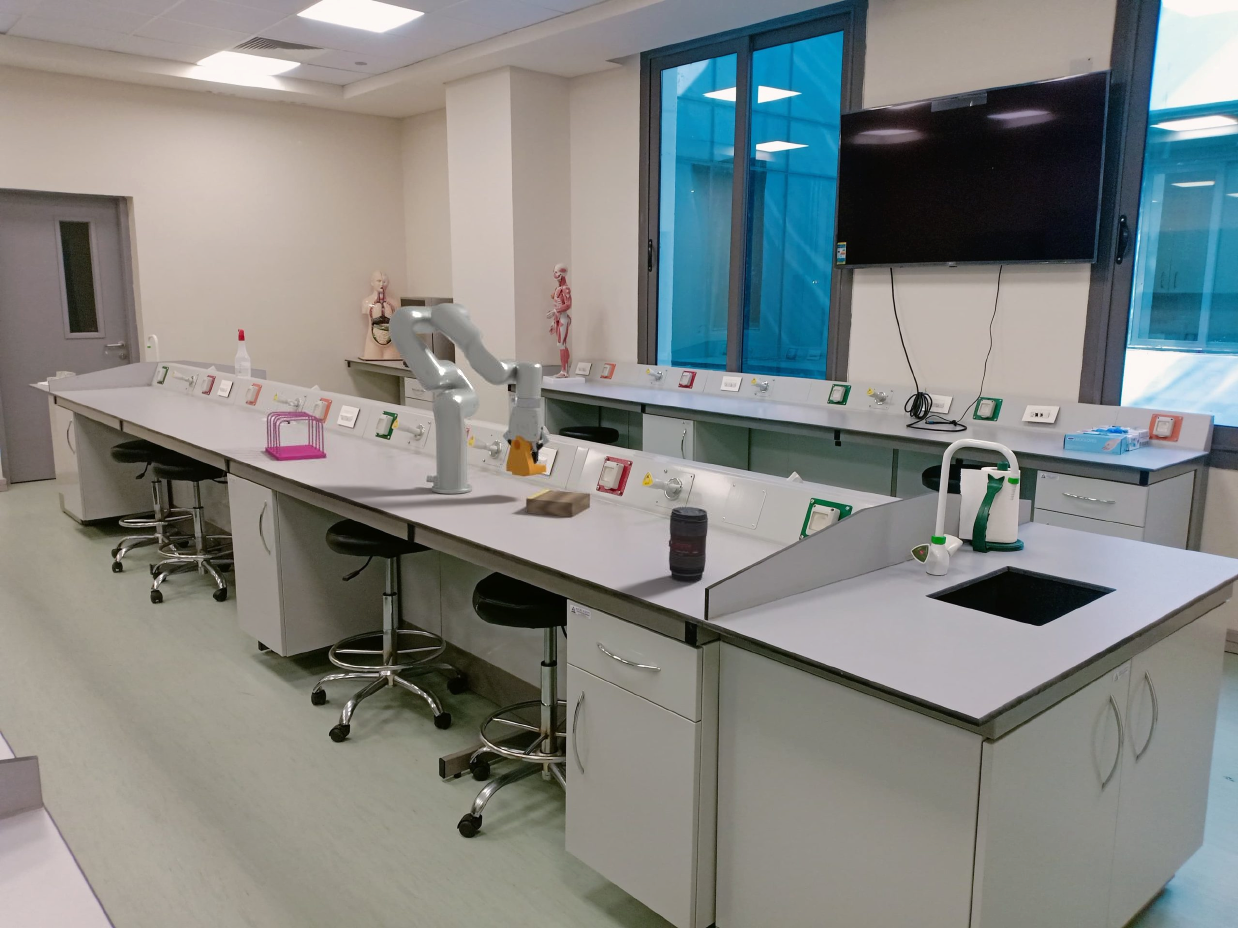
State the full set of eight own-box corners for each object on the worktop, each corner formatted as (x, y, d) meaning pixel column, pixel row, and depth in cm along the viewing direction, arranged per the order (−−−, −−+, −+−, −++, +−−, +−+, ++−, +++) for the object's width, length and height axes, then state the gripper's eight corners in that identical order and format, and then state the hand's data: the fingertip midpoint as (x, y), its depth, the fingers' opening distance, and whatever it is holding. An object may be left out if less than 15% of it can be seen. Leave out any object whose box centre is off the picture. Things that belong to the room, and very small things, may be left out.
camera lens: (675, 584, 191) (678, 515, 189) (663, 573, 199) (665, 507, 196) (711, 582, 193) (714, 513, 191) (697, 571, 201) (699, 505, 198)
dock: (526, 512, 255) (526, 497, 254) (545, 502, 268) (545, 489, 268) (572, 517, 251) (572, 502, 250) (589, 507, 264) (590, 493, 263)
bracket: (547, 474, 273) (546, 435, 272) (529, 477, 268) (528, 437, 266) (524, 470, 281) (523, 432, 279) (506, 473, 276) (505, 434, 274)
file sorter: (311, 449, 359) (310, 409, 356) (326, 458, 338) (325, 416, 335) (265, 451, 350) (263, 411, 347) (278, 461, 329) (276, 418, 326)
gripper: (496, 401, 270) (493, 461, 273) (549, 407, 265) (545, 468, 268) (507, 399, 277) (504, 457, 280) (558, 405, 272) (555, 464, 275)
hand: (524, 462), depth 274 cm, fingers closed on bracket, 5 cm apart
